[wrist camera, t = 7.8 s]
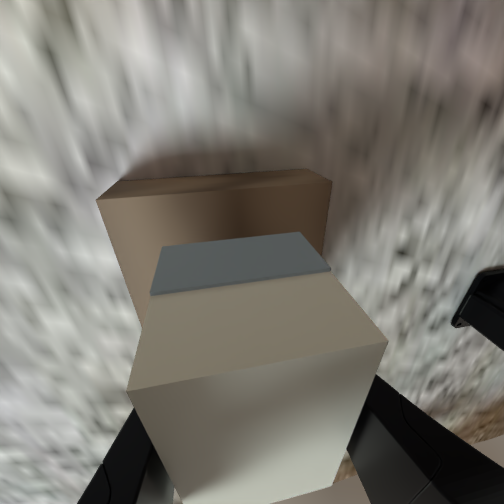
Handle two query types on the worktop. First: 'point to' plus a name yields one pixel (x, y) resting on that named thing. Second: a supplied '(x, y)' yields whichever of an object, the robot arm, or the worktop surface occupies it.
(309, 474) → the lid plate
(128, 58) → the worktop surface
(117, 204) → the walnut stand
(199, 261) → the base plate
